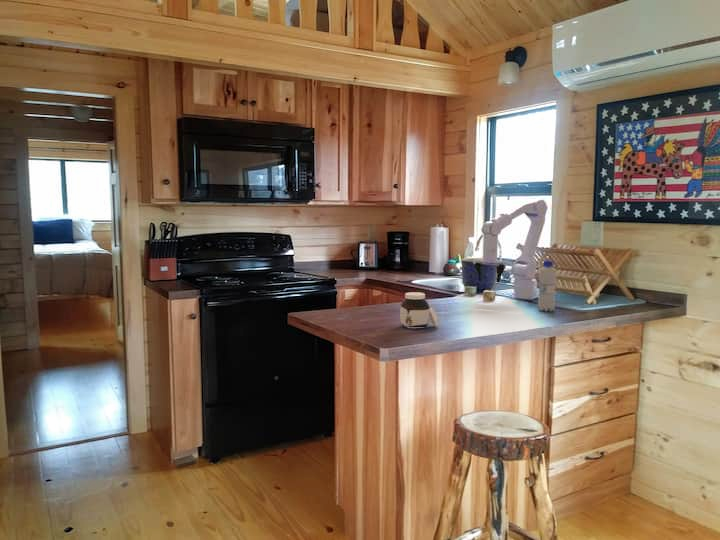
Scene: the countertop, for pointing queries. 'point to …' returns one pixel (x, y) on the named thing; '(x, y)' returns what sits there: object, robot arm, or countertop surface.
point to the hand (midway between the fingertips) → (489, 281)
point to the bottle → (547, 287)
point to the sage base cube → (470, 291)
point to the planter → (472, 277)
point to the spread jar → (417, 311)
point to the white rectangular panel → (477, 298)
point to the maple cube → (488, 295)
